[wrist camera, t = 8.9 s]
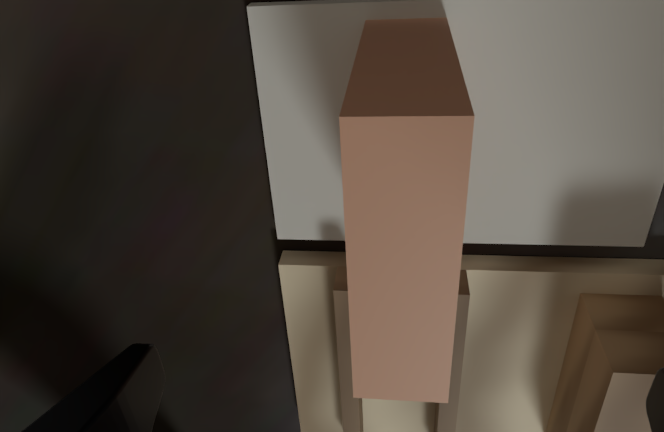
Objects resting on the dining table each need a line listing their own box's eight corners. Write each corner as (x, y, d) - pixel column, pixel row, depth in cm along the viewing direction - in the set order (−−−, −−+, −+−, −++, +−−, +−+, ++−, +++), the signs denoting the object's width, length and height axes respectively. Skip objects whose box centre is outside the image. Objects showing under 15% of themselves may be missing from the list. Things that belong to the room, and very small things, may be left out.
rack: (742, 261, 21) (780, 305, 18) (663, 439, 26) (685, 488, 24) (282, 250, 23) (270, 288, 21) (304, 416, 29) (296, 459, 27)
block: (446, 17, 16) (474, 115, 10) (434, 232, 21) (448, 403, 14) (365, 19, 17) (339, 117, 10) (369, 231, 21) (353, 397, 14)
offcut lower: (661, 295, 21) (684, 333, 19) (610, 440, 25) (624, 480, 24) (580, 293, 21) (595, 329, 19) (544, 436, 26) (554, 475, 24)
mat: (714, -15, 16) (724, -11, 15) (637, 237, 21) (643, 246, 20) (251, 2, 18) (246, 6, 17) (280, 230, 22) (277, 239, 22)
